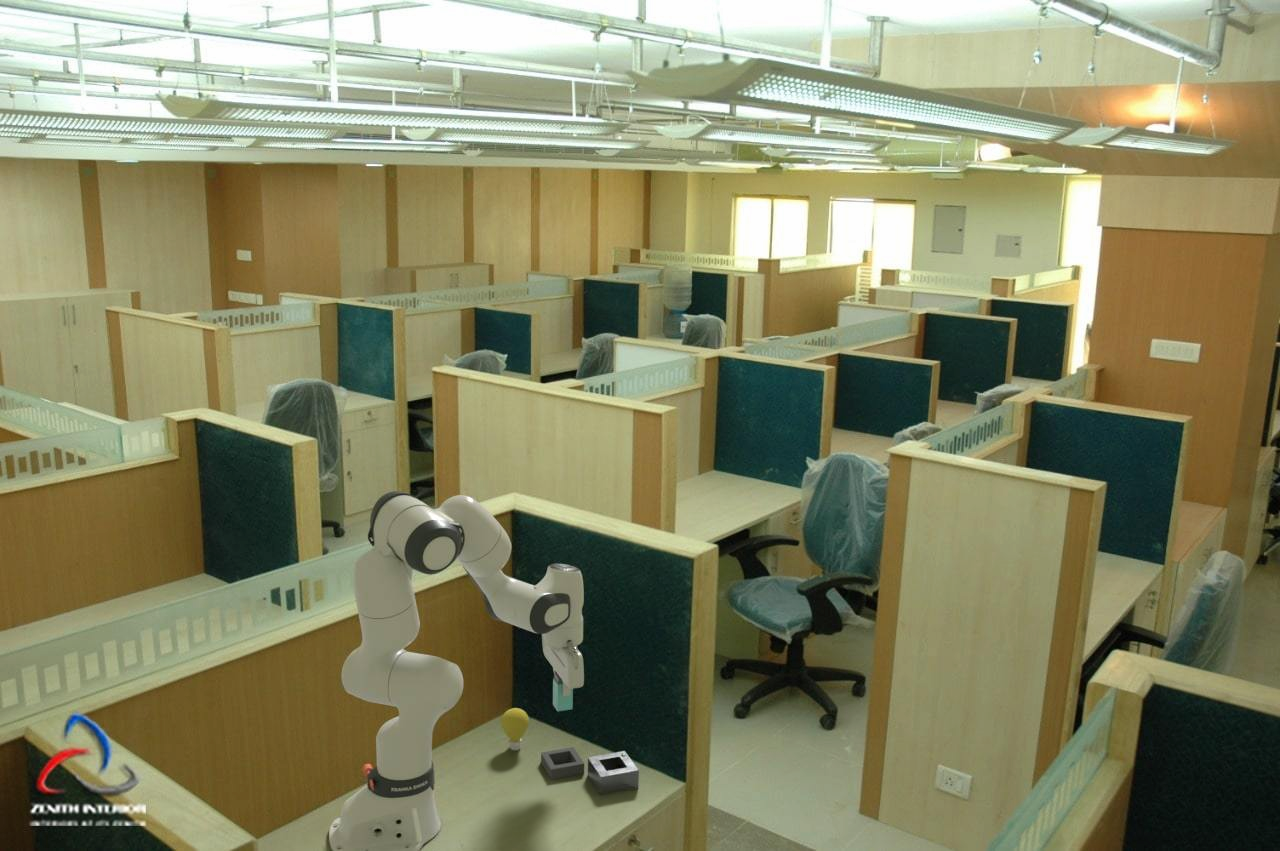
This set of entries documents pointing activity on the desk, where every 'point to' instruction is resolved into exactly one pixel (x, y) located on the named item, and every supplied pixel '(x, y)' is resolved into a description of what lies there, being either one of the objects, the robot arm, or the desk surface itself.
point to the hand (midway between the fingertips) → (562, 690)
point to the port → (613, 773)
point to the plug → (561, 695)
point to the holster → (562, 769)
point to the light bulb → (515, 726)
